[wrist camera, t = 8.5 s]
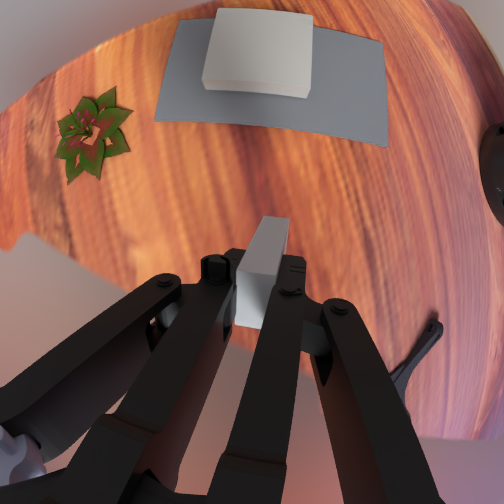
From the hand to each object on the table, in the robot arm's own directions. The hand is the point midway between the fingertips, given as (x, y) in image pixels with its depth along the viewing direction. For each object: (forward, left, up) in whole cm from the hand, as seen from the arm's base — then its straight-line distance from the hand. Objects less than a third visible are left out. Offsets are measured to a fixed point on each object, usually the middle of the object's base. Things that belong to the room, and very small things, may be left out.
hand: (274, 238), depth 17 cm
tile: (+3, -14, -8) cm, 16 cm away
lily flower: (+21, -9, -11) cm, 25 cm away
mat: (+1, -17, -10) cm, 20 cm away
